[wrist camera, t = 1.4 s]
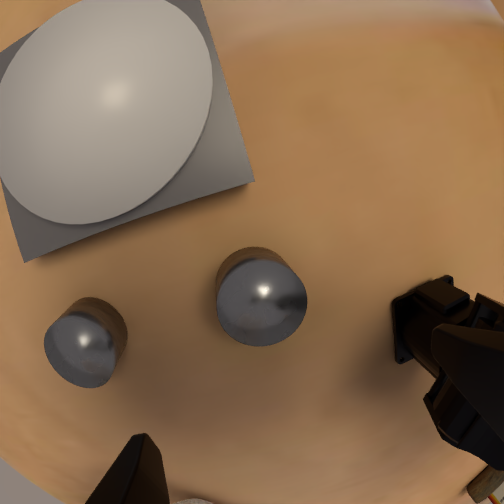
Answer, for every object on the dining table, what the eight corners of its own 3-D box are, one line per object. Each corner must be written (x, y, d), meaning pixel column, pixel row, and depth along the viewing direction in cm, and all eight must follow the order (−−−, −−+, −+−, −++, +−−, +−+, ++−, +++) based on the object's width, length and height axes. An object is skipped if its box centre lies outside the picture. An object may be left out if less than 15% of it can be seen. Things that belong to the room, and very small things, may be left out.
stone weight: (468, 489, 39) (480, 505, 32) (460, 487, 37) (474, 506, 30) (514, 442, 37) (529, 457, 31) (511, 437, 36) (527, 453, 29)
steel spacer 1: (138, 350, 21) (126, 382, 17) (85, 362, 20) (67, 391, 17) (110, 289, 19) (90, 312, 16) (56, 306, 19) (32, 329, 15)
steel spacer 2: (297, 304, 21) (314, 330, 17) (228, 326, 21) (232, 356, 17) (280, 237, 20) (295, 250, 16) (205, 259, 20) (204, 278, 16)
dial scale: (248, 181, 19) (257, 181, 15) (39, 255, 18) (9, 270, 14) (191, -10, 15) (188, -41, 11) (3, 74, 14) (-25, 62, 10)
